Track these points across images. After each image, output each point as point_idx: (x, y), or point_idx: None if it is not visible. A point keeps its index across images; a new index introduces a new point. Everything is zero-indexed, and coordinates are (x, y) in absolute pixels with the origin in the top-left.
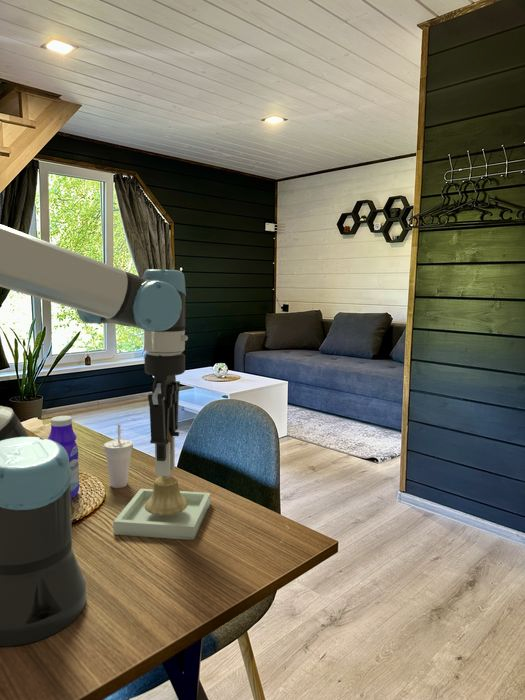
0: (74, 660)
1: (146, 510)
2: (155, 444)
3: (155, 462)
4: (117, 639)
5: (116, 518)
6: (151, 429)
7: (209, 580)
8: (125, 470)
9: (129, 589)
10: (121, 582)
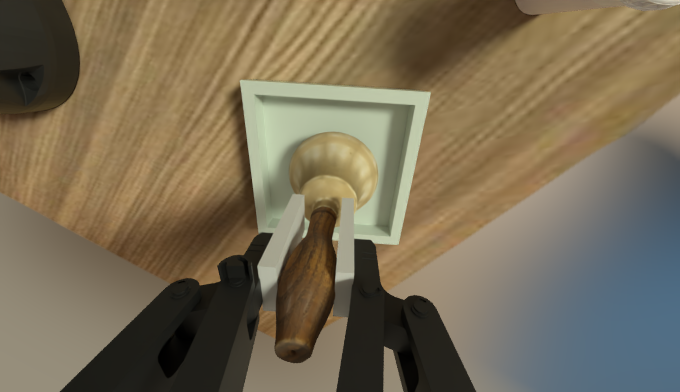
0: None
1: (302, 142)
2: (259, 262)
3: (282, 216)
4: (28, 173)
5: (255, 82)
6: (100, 357)
7: (178, 248)
8: (553, 3)
9: (114, 160)
10: (122, 144)
